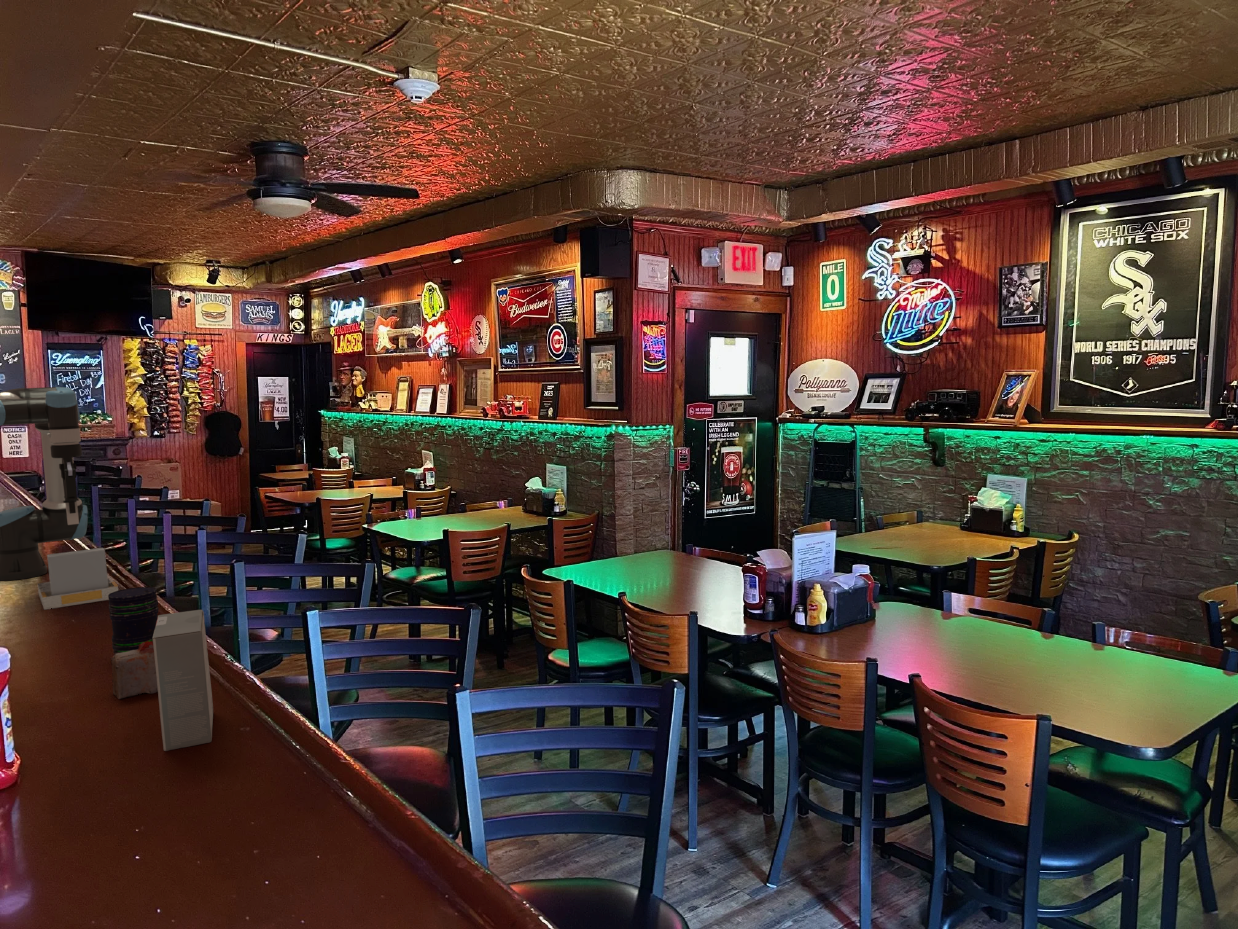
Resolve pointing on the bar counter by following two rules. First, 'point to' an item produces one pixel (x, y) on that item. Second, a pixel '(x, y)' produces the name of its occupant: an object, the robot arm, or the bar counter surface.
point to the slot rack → (74, 595)
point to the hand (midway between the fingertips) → (73, 523)
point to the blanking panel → (77, 571)
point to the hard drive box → (183, 679)
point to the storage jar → (132, 617)
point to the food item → (134, 672)
